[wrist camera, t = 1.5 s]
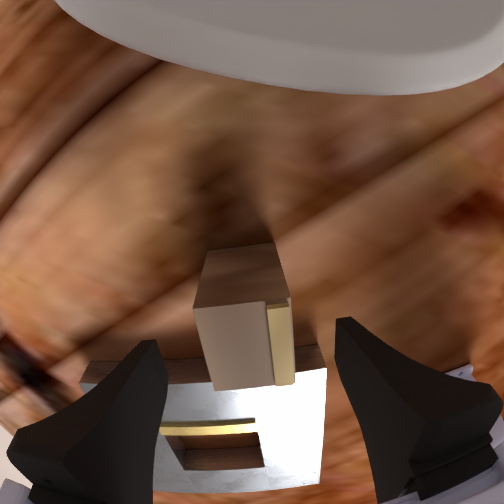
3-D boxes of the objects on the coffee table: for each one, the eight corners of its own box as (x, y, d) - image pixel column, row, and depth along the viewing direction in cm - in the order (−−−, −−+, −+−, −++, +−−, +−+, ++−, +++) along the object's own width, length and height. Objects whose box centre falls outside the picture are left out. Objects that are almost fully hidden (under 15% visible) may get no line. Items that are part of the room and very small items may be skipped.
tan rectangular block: (274, 242, 17) (291, 301, 11) (281, 312, 19) (296, 387, 13) (207, 250, 17) (191, 313, 11) (220, 319, 19) (214, 396, 13)
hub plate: (318, 343, 19) (327, 371, 17) (315, 463, 25) (319, 485, 23) (90, 361, 20) (77, 386, 17) (157, 472, 25) (153, 493, 23)
